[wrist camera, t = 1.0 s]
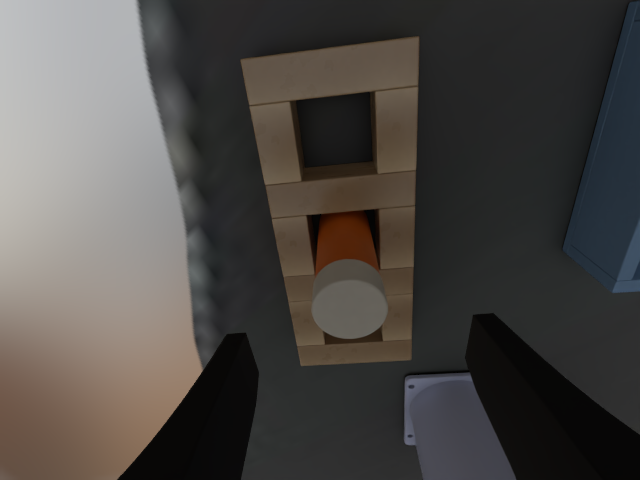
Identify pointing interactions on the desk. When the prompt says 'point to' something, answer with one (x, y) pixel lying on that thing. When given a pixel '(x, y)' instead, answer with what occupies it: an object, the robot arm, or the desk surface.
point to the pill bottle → (347, 277)
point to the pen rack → (341, 181)
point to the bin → (613, 176)
